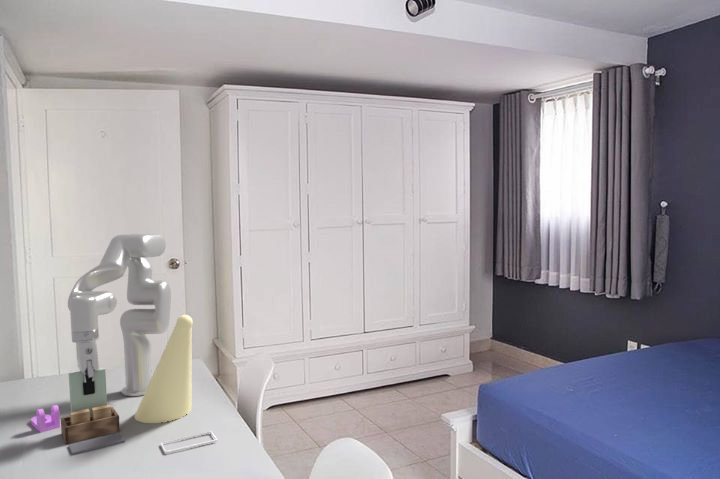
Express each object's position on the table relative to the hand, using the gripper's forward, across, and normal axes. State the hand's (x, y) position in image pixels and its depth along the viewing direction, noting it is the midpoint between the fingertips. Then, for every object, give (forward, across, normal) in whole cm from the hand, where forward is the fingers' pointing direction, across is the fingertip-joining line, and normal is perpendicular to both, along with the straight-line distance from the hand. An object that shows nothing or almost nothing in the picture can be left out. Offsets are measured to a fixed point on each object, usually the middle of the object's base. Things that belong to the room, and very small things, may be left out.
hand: (88, 392), depth 170 cm
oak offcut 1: (+12, -5, +3) cm, 13 cm away
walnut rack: (+12, -3, 0) cm, 12 cm away
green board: (+11, 0, 0) cm, 11 cm away
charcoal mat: (+12, -13, 0) cm, 18 cm away
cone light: (+12, -3, -24) cm, 27 cm away
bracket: (+13, +14, +11) cm, 22 cm away
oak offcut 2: (+12, -5, -3) cm, 13 cm away
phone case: (+13, -30, -22) cm, 39 cm away
